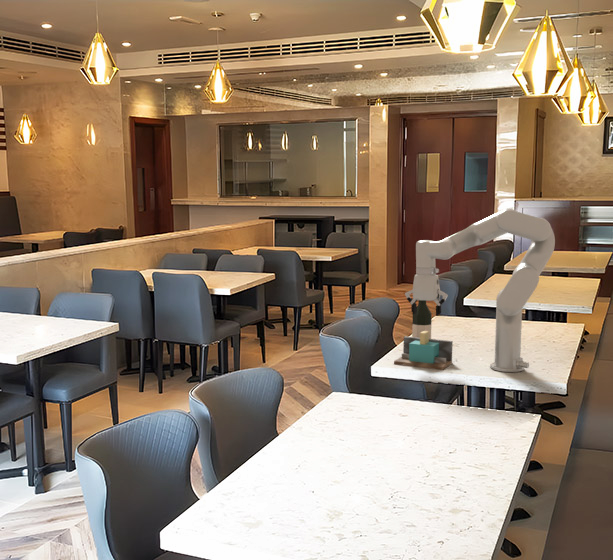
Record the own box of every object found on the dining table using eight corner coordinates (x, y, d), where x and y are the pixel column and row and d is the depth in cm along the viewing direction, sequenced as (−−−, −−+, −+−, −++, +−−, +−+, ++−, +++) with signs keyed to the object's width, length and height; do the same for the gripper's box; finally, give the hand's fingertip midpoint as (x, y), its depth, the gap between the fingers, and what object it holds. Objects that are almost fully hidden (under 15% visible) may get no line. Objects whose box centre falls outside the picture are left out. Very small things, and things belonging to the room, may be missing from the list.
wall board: (451, 363, 282) (452, 341, 281) (442, 369, 271) (443, 346, 270) (404, 357, 291) (405, 336, 290) (394, 363, 281) (394, 341, 280)
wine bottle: (425, 355, 295) (427, 284, 291) (408, 352, 300) (409, 283, 296) (434, 352, 302) (436, 282, 298) (417, 349, 307) (418, 281, 303)
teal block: (438, 359, 282) (439, 331, 281) (433, 363, 276) (433, 334, 275) (415, 357, 287) (415, 329, 286) (409, 360, 281) (409, 332, 280)
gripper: (450, 271, 277) (450, 314, 278) (408, 270, 285) (408, 312, 287) (444, 273, 270) (444, 317, 272) (401, 272, 278) (402, 315, 280)
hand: (426, 314), depth 279 cm, fingers open, 9 cm apart
